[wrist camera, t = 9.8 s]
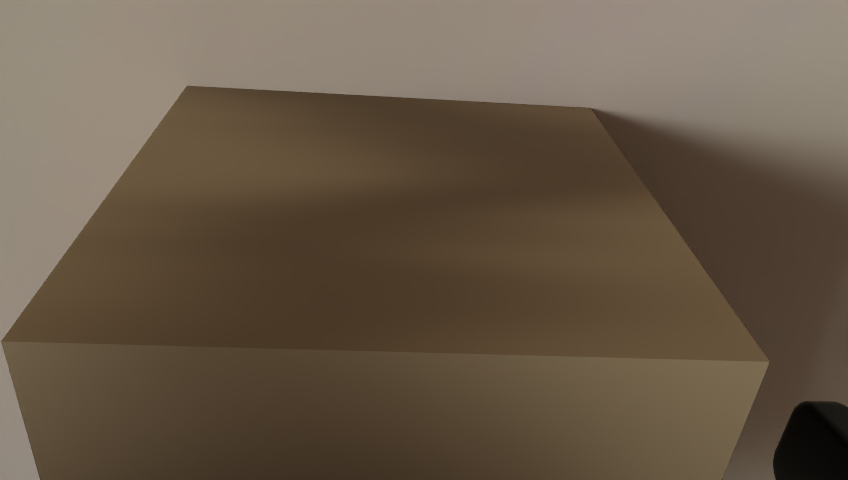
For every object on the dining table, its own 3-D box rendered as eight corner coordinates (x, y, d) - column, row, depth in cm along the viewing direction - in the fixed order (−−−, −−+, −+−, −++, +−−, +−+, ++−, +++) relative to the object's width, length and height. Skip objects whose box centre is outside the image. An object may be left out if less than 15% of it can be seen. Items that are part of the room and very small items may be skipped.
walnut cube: (589, 105, 9) (770, 362, 5) (531, 399, 12) (616, 739, 7) (188, 84, 9) (2, 340, 4) (217, 392, 11) (115, 747, 7)
